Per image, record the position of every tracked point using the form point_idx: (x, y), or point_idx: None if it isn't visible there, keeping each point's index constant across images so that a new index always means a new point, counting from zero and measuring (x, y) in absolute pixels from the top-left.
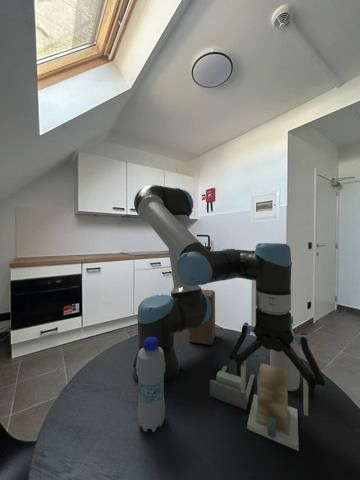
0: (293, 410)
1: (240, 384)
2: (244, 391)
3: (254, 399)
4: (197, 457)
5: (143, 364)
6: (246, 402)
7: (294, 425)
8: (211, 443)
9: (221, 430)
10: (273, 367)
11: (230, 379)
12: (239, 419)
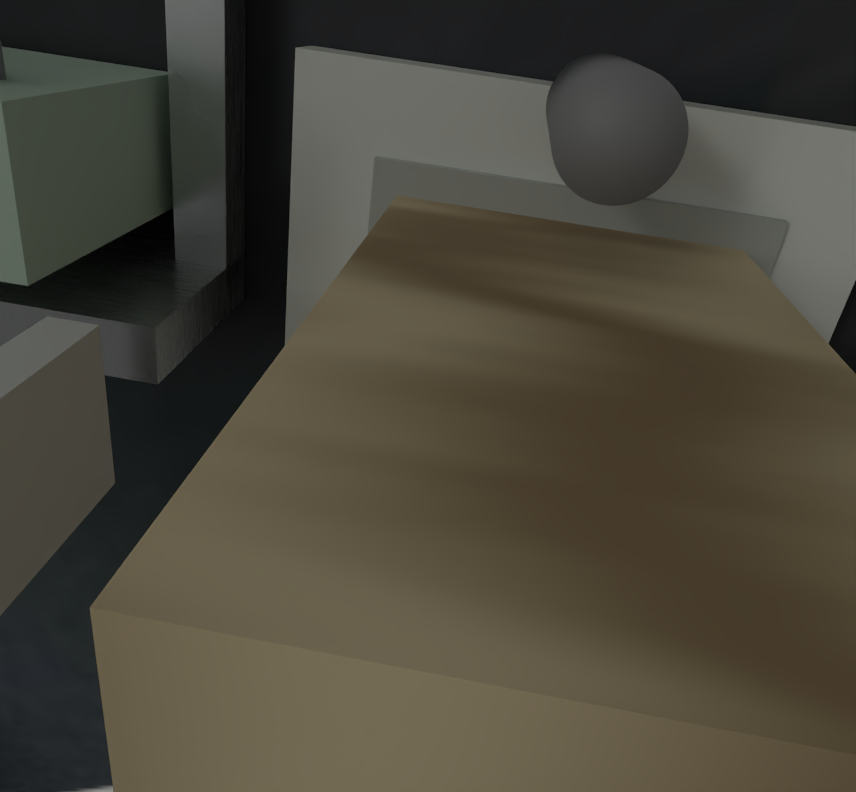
0: (841, 188)
1: (11, 273)
2: (123, 335)
3: (309, 160)
4: (49, 728)
5: None
6: (216, 298)
7: None
8: (82, 651)
9: (103, 558)
10: (628, 774)
11: None
12: (207, 427)
